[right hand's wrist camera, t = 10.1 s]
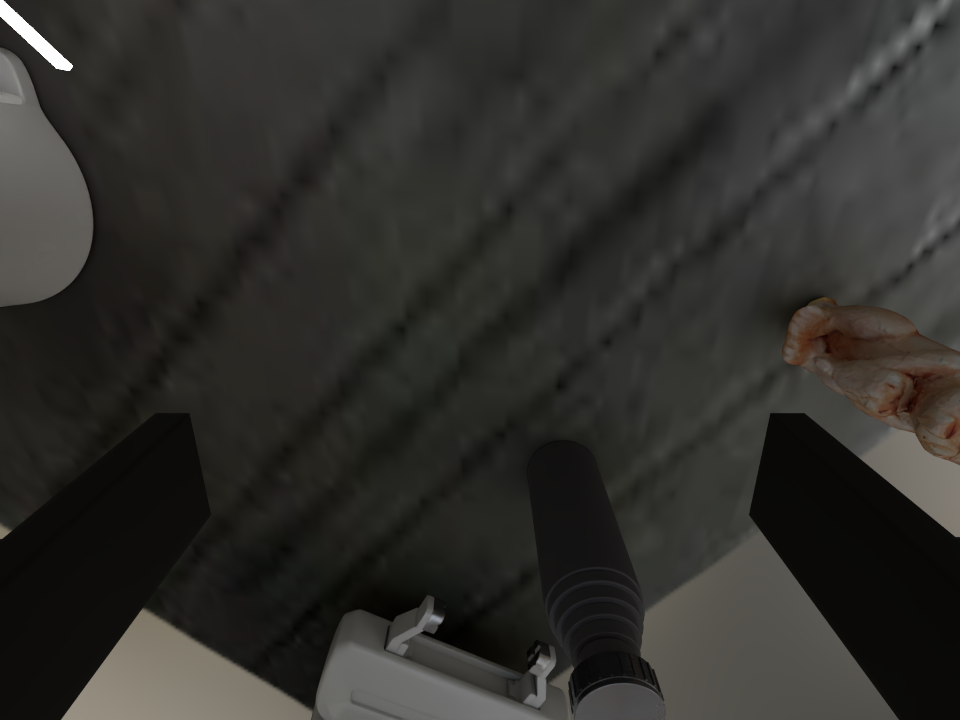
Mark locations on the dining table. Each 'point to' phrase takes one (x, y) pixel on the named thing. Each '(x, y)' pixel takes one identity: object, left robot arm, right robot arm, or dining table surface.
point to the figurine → (882, 369)
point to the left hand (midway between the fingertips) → (493, 627)
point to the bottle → (582, 556)
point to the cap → (615, 688)
